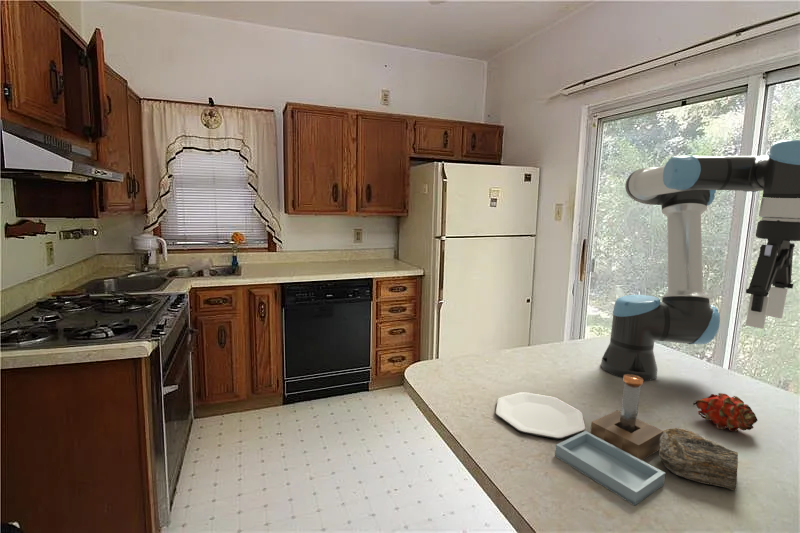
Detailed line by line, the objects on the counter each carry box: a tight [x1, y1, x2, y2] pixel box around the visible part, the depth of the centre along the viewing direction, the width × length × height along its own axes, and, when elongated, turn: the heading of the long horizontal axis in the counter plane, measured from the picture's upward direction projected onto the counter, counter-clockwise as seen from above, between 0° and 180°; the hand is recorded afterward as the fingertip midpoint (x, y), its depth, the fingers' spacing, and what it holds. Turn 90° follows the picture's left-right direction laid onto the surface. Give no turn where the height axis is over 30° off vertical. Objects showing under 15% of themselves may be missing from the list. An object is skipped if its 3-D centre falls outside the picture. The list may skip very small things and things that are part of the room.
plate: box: [495, 391, 586, 440], centre depth 99 cm, size 20×20×2 cm
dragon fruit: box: [692, 392, 758, 432], centre depth 97 cm, size 8×8×12 cm
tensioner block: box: [589, 410, 664, 461], centre depth 89 cm, size 10×10×4 cm
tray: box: [554, 430, 666, 506], centre depth 80 cm, size 16×10×2 cm, turn 33°
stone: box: [658, 427, 739, 491], centre depth 80 cm, size 14×10×10 cm
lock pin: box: [619, 374, 644, 433], centre depth 88 cm, size 4×4×15 cm
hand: (764, 321), depth 87 cm, fingers open, 13 cm apart
